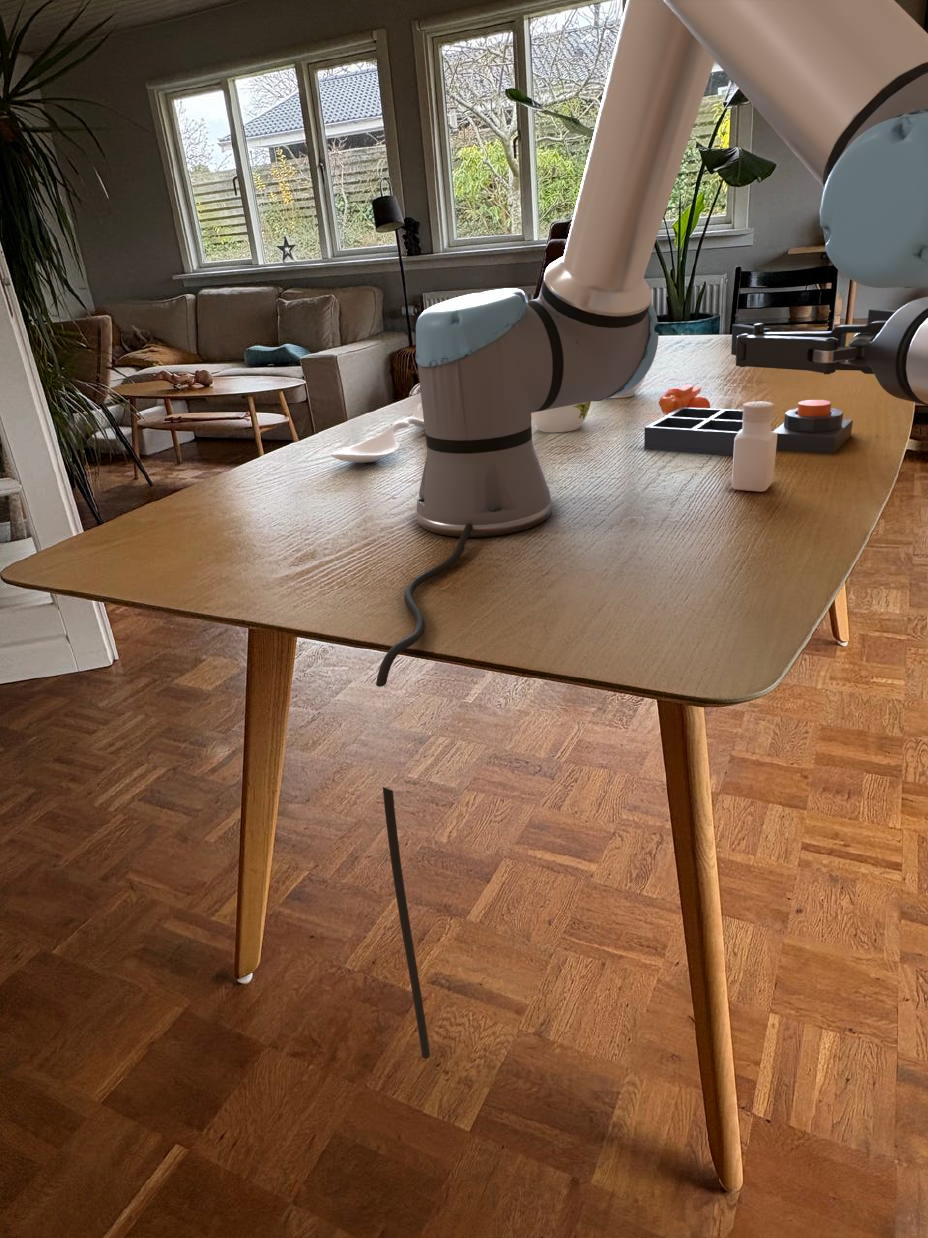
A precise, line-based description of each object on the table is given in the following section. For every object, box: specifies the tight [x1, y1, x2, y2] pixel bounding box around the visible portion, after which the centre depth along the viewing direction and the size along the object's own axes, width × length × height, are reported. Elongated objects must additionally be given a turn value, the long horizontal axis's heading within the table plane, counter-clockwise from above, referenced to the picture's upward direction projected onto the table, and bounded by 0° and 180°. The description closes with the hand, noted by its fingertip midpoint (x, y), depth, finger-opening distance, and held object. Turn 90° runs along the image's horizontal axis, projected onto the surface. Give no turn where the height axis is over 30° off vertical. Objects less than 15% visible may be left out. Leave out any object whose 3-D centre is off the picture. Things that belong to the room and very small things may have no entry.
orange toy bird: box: [658, 382, 711, 416], centre depth 126 cm, size 5×8×12 cm
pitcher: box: [531, 402, 592, 433], centre depth 126 cm, size 11×18×14 cm, turn 149°
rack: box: [643, 407, 773, 457], centre depth 113 cm, size 13×13×3 cm
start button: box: [797, 399, 832, 417], centre depth 107 cm, size 4×4×2 cm
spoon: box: [330, 402, 425, 464], centre depth 126 cm, size 9×32×4 cm, turn 156°
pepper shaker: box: [731, 400, 777, 493], centre depth 91 cm, size 4×4×10 cm
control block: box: [772, 407, 854, 455], centre depth 108 cm, size 10×8×4 cm
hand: (803, 331), depth 78 cm, fingers open, 13 cm apart
